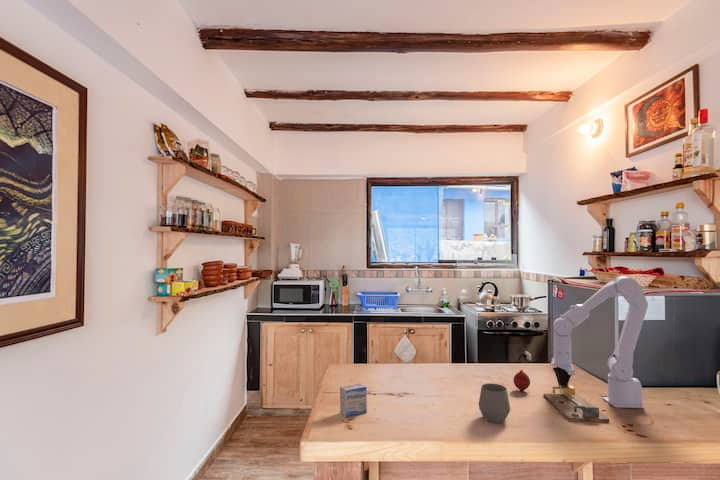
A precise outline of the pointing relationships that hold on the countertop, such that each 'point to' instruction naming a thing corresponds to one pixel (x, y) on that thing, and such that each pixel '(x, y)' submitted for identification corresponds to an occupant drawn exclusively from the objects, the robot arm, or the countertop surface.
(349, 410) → the medicine box
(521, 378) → the onion
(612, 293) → the robot arm
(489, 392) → the cup
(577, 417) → the gauge board
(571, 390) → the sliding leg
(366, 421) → the countertop surface
